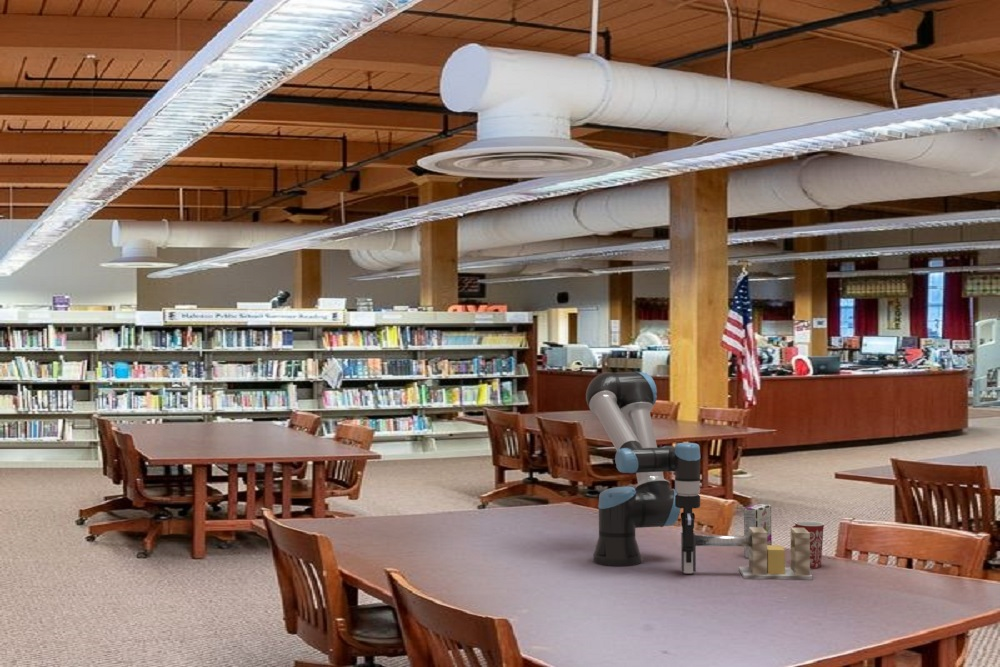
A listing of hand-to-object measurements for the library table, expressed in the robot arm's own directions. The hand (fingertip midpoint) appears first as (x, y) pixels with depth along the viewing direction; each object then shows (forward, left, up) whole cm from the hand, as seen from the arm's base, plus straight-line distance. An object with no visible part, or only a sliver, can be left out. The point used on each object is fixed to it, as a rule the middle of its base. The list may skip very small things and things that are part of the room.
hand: (687, 571), depth 360 cm
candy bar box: (+25, +30, -1) cm, 39 cm away
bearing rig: (+25, 0, -1) cm, 25 cm away
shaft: (+10, 0, 0) cm, 10 cm away
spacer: (+26, 0, 0) cm, 26 cm away
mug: (+38, +16, -1) cm, 41 cm away
